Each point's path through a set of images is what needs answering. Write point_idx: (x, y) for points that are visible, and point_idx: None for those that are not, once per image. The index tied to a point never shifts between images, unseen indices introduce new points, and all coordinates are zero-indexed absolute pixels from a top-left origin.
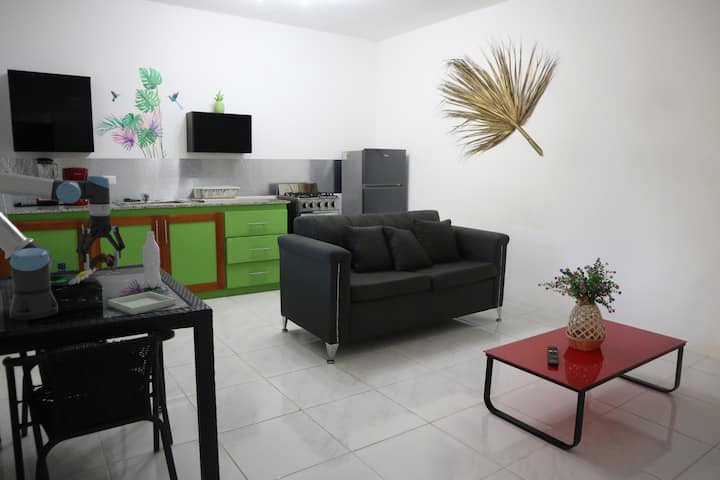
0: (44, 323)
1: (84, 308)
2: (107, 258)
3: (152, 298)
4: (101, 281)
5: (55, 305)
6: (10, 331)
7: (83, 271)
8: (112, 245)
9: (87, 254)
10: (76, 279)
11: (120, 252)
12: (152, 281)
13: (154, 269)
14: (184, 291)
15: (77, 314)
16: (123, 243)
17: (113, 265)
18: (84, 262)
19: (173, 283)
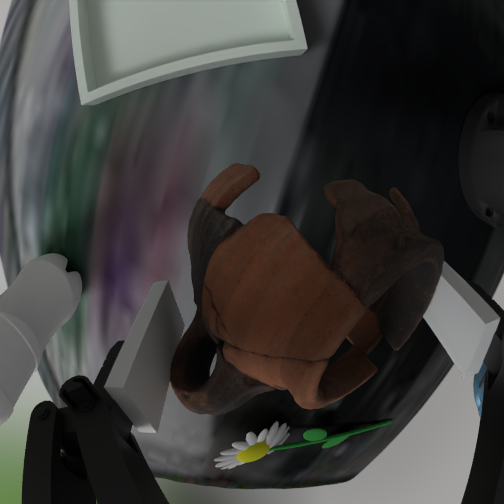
0: (500, 40)
1: (389, 97)
2: (294, 236)
3: (101, 54)
4: (206, 423)
5: (485, 125)
6: None
7: (250, 460)
8: (157, 483)
9: (484, 337)
10: (275, 437)
11: (96, 382)
12: (46, 263)
13: (9, 294)
14: None
15: (426, 40)
16: (29, 450)
17: (224, 195)
18: (468, 283)
19: (9, 281)
